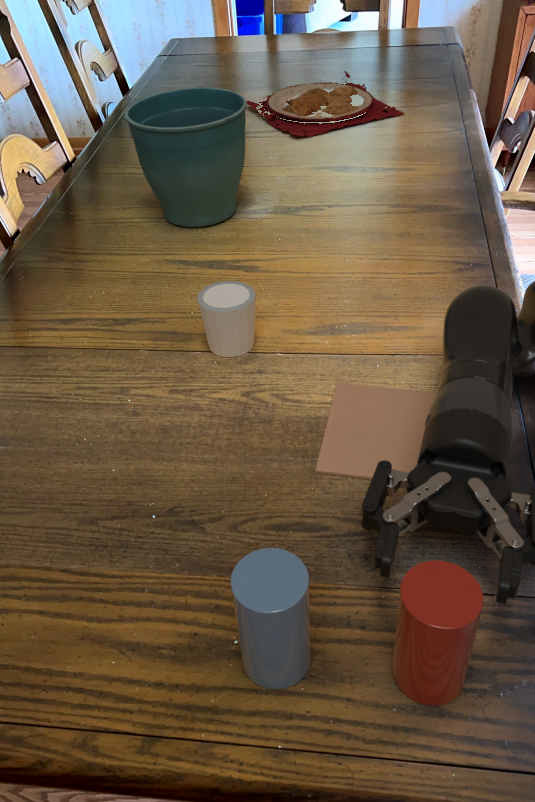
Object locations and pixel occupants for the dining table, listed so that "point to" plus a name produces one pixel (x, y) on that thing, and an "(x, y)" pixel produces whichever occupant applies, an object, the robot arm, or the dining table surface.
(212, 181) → the flower pot
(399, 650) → the glossy red cylinder
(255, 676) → the grey upright cylinder
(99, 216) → the dining table surface
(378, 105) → the plate with food
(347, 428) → the terracotta mat
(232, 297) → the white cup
